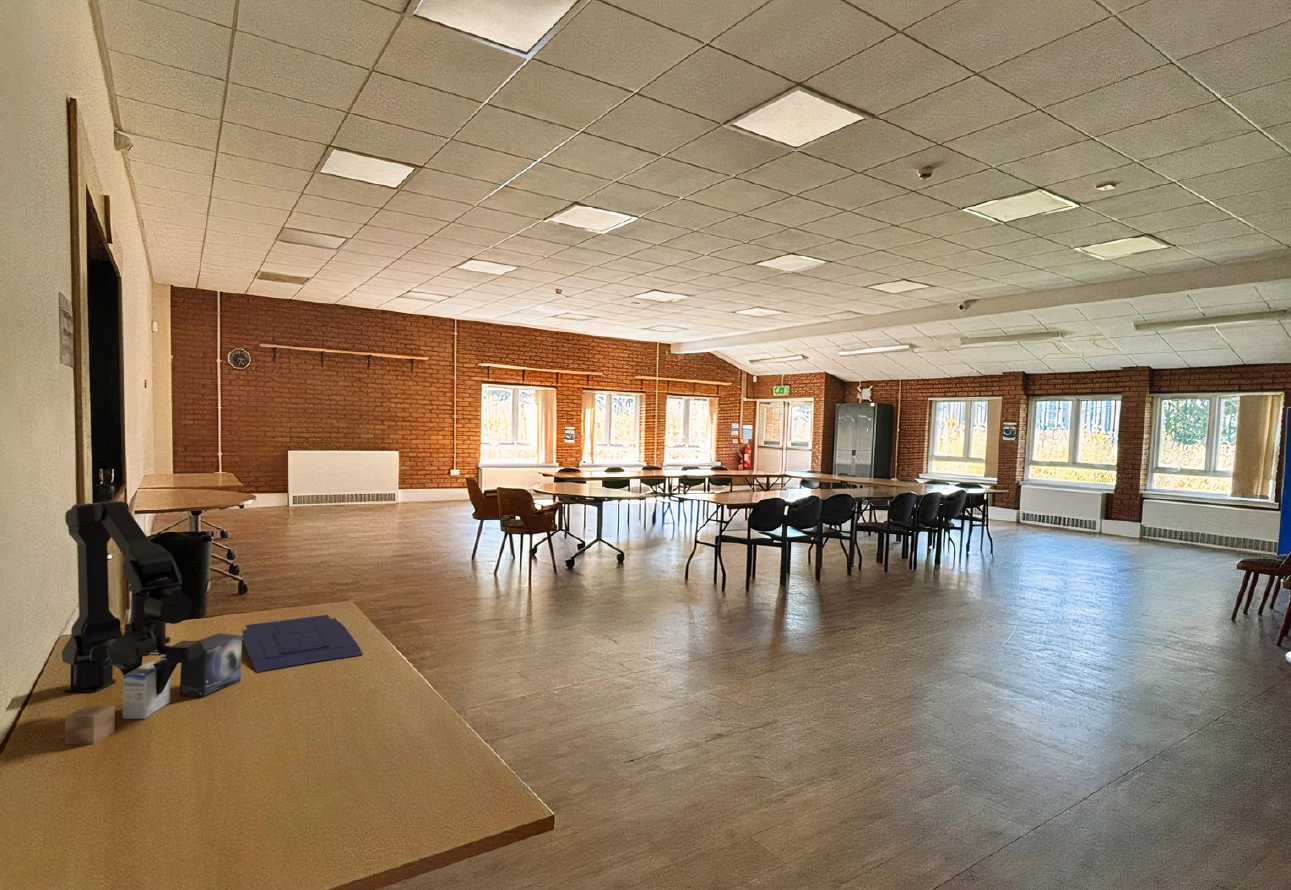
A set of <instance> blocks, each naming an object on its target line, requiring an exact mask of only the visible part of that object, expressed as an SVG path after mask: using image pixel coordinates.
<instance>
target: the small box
mask: <svg viewBox="0 0 1291 890" xmlns="http://www.w3.org/2000/svg"><path fill="white" fill-rule="evenodd" d="M197 641H200V642H201V643H202V644H203V646H204V648H203V654H202V655H200V656H198V657H196V658H194V659H193V660H191V661H189V662H185V663H180V678H179V679H180V680H179V682H180V683H179V692H178V693H179V695H186V696H190V697H191V696H193V697H200V698H204V697H206V696H209V695H211V694H214V693H216V692H219V691H221V690H223V689H225V688H227V687H230V686H233V685H234V684H237V683H240V682H241V678H242V651H243V650H242V649H243V647H242V646H243V638H242V635H237V634H229V633H223V632H219V633H215V634H213V635H210V636H207V637H204V638H201V639H198V640H197Z"/></svg>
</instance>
